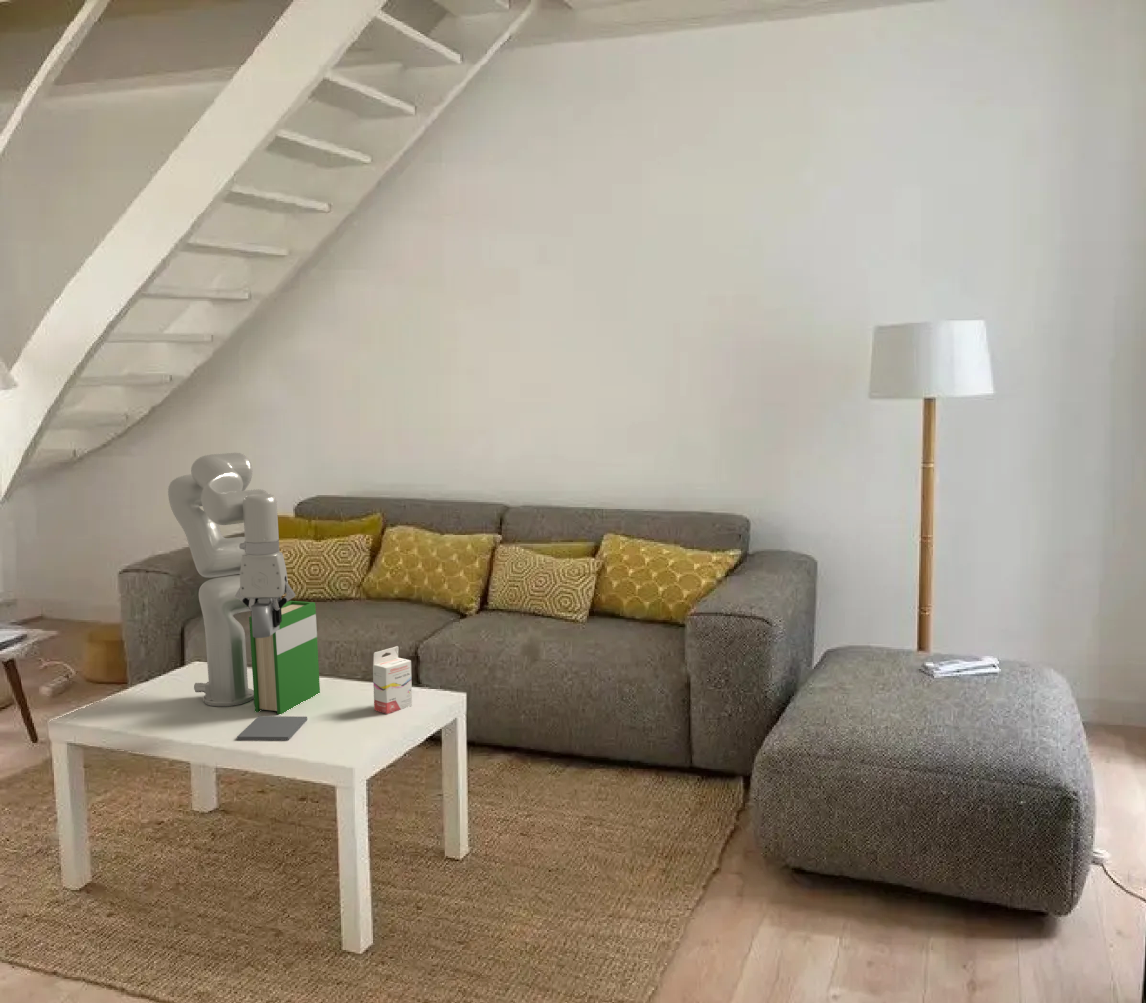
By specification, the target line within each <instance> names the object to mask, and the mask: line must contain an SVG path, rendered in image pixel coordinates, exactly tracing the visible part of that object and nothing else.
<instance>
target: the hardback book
mask: <svg viewBox="0 0 1146 1003" xmlns="http://www.w3.org/2000/svg"><path fill="white" fill-rule="evenodd" d="M316 610H317V609H316V602H313V601H312V602H311V601H301V600H300V601H299V600H298V601H297V600H289V601H287V602H286V603H285V605H284V606H283V607H282V608H281V613H282V622H281V623H280V625H279V628H280V629H279V630H277V631H276V632H275V633H273V634H272V635H271V636H269V637H264V638H255V637H253V631H252V621H251V615H250V616H249V617H248V621H249V638H250V639H249V640H250V651H251V652H250V654H251V656H250V657H251V671H252V687H253V689H252V690H253V691H254V698H253V703H254V712H255V711H256V712H255V713H259V711H260V710H262V709H263V710H266V711H274V712H276V713H277V714H281V715H283V714H284V712H285V713H287V712H288V711H287V710H289V709H290V710H292V709H293V707H294V706H296V705H298V704H299V705H301V704H302V703H301V702H303V701H305V702H306V700H307V701H308V699H309V700H310V699H312V698H314V697H316V696H317V695H316V694H318V693H320V694H321V685H320V684H321V683H320V668H319V666H320V665H319V649H318V645H319V644H318V631H317V630H318V629H317V611H316ZM315 695H316V696H315ZM318 695H319V694H318ZM313 696H314V697H313ZM311 697H312V698H311ZM300 703H301V704H300ZM303 703H304V702H303ZM299 705H298V706H299ZM296 707H297V706H296ZM291 708H292V709H291ZM294 708H295V707H294ZM263 710H262V711H263ZM290 710H289V711H290ZM286 711H287V712H286ZM260 712H261V711H260ZM282 713H283V714H282Z"/></svg>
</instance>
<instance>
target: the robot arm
mask: <svg viewBox="0 0 1146 1003" xmlns="http://www.w3.org/2000/svg"><path fill="white" fill-rule="evenodd" d="M190 472H191V474H186V475H181V476H178V477H176V478H174V479H173V480H171V481H170V483H169V485H168V488H167V496H168V501H169V502H168V504H169V506H170V509H171V511H172V514H173V516H174V518H175V519H176V521H177V522H178V523H179V525H180V526H181V528H182V530H183V532H184V535H185V537H186V539H187V540H186V541H187V543H188V547H189V549H190V550H189V551H190V553H191V558H192V560H193V563H194V566H195V569H196V571H197V572H198V574H199V575H200V576H201V577H203V578H210V579H208V580H206V581H204V582H203V583H202V584H201V586H200V587H199V590H198V600H199V605H200V608H201V609H200V610H201V614H202V618H203V625H204V633H205V634H204V636H205V646H206V647H205V648H206V663H207V664H206V665H207V676H208V678H207V679H208V681H207V682H206V683H205V682H195V683H194V684H193V685H194V686H193V689H194V692H195V693H204V696H203V703H204V704H205V705H207V706H212V707H231V706H238V705H242V704H245V703H249V702H250V701H252V700H254V689H252V688H249V683H248V682H249V680H248V679H249V678H248V664H247V651H246V649H247V648H246V633H245V632H246V631H245V629H244V626H243V625H242V624H241V623H240V622H239V621H238V620H237V619H236V618H235V617H234V615H237V614H239V613H245V612H250V616H251V621H252V613H251V606H252V605H254V604H255V603H257V602H258V601H259V598H272V601H273V605H274V610H273V612H272V613H273V627H277V626H279V625H280V623H281V622H282V613H281V608H282V607H283V606H284V605H285V603H286V602H288V601H291V600H293V598H295V596H296V593H295V592H294V590H293V589H292V587H291V585H289V581H288V580H289V579H288V572H287V566H286V561H285V558H284V555H283V552H281V551H280V540H279V539H280V538H279V537H280V536H279V519H278V503H277V502H278V501H277V498H276V497H275V496H274V494H271V493H268V492H267V491H266V490H264V489H249V490H247V488H248V486H249V485H250V483H251V481H252V478H253V466H252V463H251V461H250V459H249V458H248V457H247V455H245V454H244V453H241V452H230V453H229V452H228V453H227V452H226V453H216V454H215V453H214V454H207V455H206V454H205V455H202V456H200V457H198V458H197V459H195V461H194V462H193V463H192V465H191V468H190ZM201 507H202V508H201ZM237 524H243V530H244V531H243V532H244V536H237V537H229V538H226V537H225V536H223V534H222V531H221V528H220V526H230V525H237ZM284 594H286V595H285V596H284V597H283V598H282V596H283V595H284Z"/></svg>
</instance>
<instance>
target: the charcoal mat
mask: <svg viewBox="0 0 1146 1003" xmlns="http://www.w3.org/2000/svg"><path fill="white" fill-rule="evenodd" d="M307 721H308V716H298V715H297V716H294V715H293V716H289V715H287V716H286V715H285V716H281V715H280V716H279V715H278V716H272V715H271V716H270V715H267V716H266V715H265V716H264V715H260V716H259V715H258V716H257V717H256V718H255V719H254V720H253V721H252V722H250V724H249V725H247V726H246V727H245V728H244V729H243V731H241V732H240V733H239V734H238V735H237V736H236V737H237V741H289V740H290V739H291V738H292V737H293V736H294V735H295V734H296V733H297V732H298V731H299V730H300V729H301V727H302V726H303V725H305V723H306V722H307Z"/></svg>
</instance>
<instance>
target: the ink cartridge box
mask: <svg viewBox="0 0 1146 1003" xmlns="http://www.w3.org/2000/svg"><path fill="white" fill-rule="evenodd" d="M386 653H387V654H388V655H386ZM384 655H385V656H384ZM372 661H373V663H372V678H373V679H372V680H373V681H372V684H373V685H372V686H373V704H374V706H373V708H374V711H376V712H378V713H383V714H385V715H388V714H391V713H394V712H397V711H400V710H404V709H406V707H407V708H409V707H408V706H410V707H412V706H413V694H412V693H413V689H412V685H413V684H412V660H411V659H408V658H407V659H406V658H401V657H399V646H398V645H396V646H394V647H390V648H386V649H383V650H379V651H375V652H373V660H372ZM411 705H412V706H411Z"/></svg>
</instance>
